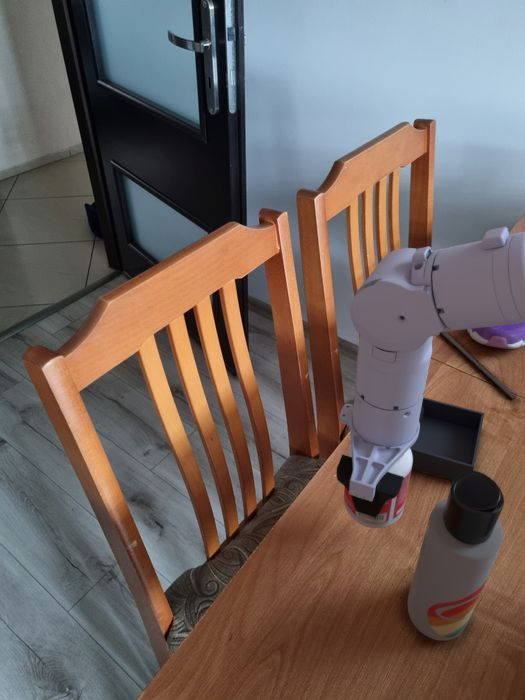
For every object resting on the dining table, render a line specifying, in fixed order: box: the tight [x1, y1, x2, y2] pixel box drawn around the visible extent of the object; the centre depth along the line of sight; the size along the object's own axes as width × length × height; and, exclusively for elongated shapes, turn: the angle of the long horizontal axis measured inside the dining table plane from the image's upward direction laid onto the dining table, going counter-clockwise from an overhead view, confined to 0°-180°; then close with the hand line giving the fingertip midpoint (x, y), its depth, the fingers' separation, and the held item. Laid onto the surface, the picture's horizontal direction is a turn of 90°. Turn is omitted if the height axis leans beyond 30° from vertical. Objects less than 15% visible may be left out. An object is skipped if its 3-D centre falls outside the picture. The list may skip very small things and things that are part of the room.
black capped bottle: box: [407, 470, 505, 642], centre depth 47 cm, size 6×6×20 cm
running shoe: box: [466, 323, 525, 350], centre depth 86 cm, size 10×23×10 cm, turn 155°
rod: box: [440, 331, 517, 401], centre depth 81 cm, size 1×19×1 cm
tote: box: [410, 396, 485, 482], centre depth 68 cm, size 9×9×3 cm
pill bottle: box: [343, 442, 413, 529], centre depth 54 cm, size 6×6×11 cm
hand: (376, 483), depth 56 cm, fingers closed on pill bottle, 6 cm apart
